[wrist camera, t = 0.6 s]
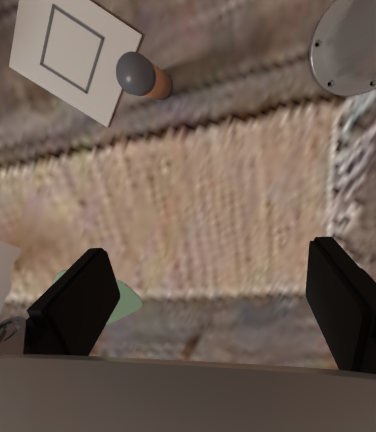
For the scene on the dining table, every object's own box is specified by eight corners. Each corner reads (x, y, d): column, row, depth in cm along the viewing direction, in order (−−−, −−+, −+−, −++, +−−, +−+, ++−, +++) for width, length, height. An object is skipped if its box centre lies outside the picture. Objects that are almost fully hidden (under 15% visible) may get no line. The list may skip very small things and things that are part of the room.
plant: (119, 255, 53) (100, 281, 45) (153, 319, 60) (142, 351, 52) (39, 275, 60) (10, 300, 51) (78, 330, 67) (58, 360, 58)
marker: (155, 65, 35) (124, 43, 25) (177, 80, 36) (157, 65, 25) (143, 91, 37) (110, 81, 26) (165, 105, 38) (141, 101, 27)
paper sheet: (27, -42, 32) (25, -43, 32) (142, 35, 34) (141, 34, 34) (10, 66, 39) (8, 66, 38) (108, 127, 40) (107, 127, 40)
